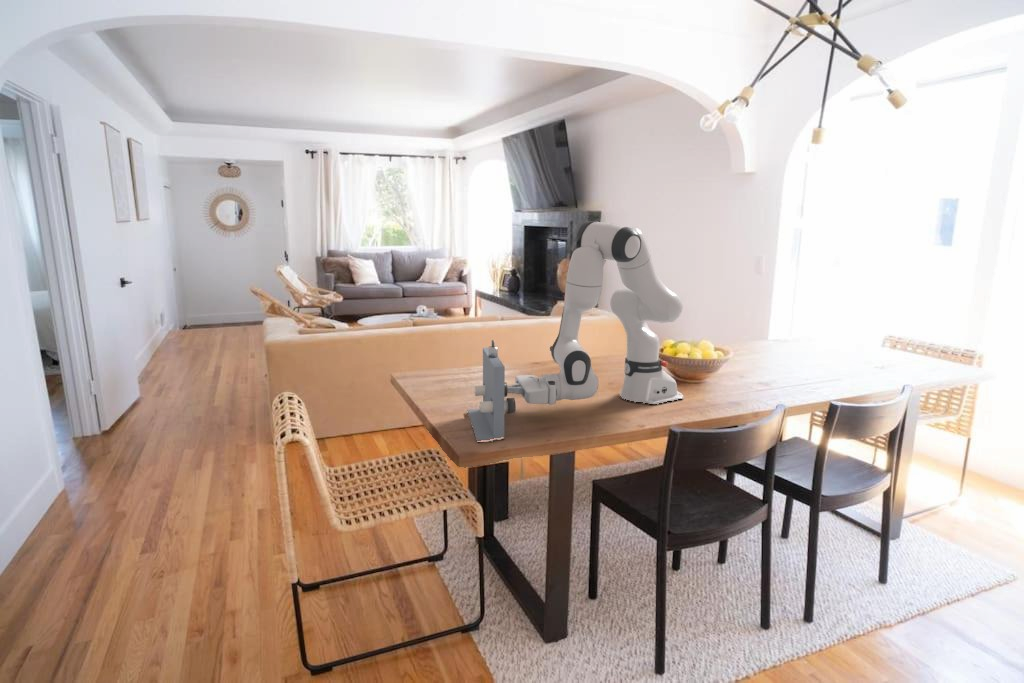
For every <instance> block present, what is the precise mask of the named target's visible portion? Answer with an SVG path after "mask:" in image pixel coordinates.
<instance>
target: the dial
mask: <svg viewBox="0 0 1024 683" xmlns="http://www.w3.org/2000/svg"><path fill="white" fill-rule="evenodd" d="M487 348H488V357H490V358H496V357H499V356H498V355H499V354H498V353H499V352H498V350H499V349H498V348H499V347H498V346H496V345H495V340H494V339H492V340H491V345H490V346H488V347H487Z"/></svg>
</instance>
